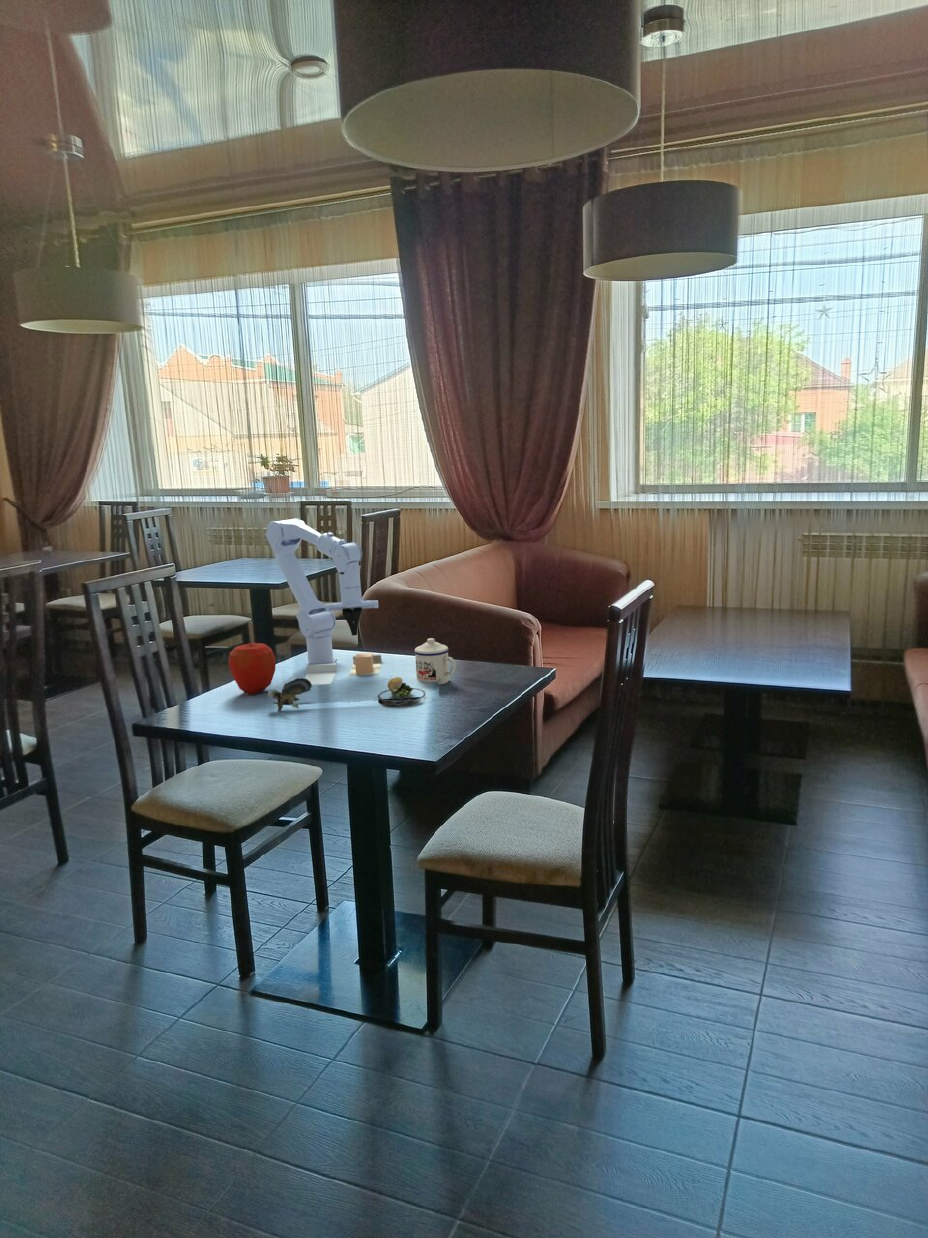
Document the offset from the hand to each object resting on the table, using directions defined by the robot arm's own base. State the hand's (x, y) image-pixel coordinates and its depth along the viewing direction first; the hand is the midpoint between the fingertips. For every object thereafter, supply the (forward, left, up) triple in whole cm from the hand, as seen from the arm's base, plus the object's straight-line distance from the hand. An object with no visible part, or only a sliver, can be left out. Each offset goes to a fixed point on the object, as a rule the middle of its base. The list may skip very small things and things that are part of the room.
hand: (354, 634), depth 244 cm
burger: (+31, +14, -11) cm, 35 cm away
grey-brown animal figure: (+32, -14, -11) cm, 36 cm away
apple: (+17, -25, -11) cm, 32 cm away
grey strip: (+10, -9, -10) cm, 17 cm away
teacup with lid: (+17, +23, -11) cm, 30 cm away
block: (+5, +3, -9) cm, 11 cm away
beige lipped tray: (+2, +3, -10) cm, 11 cm away
